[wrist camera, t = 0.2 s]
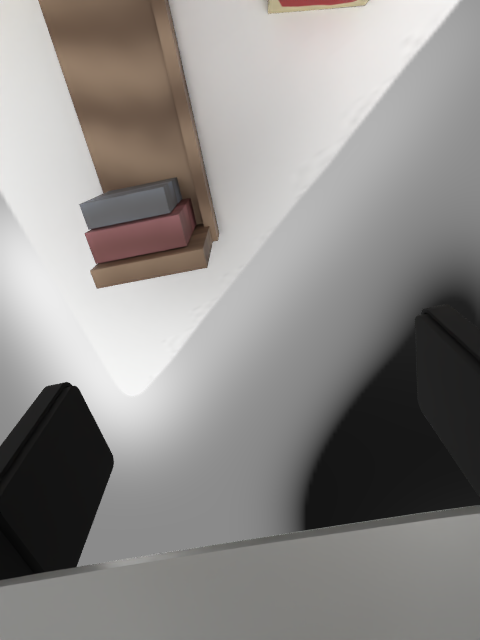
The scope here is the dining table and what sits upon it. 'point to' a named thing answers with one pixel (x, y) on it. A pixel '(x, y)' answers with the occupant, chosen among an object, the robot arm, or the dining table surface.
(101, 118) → the shelf
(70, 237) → the dining table surface
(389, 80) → the dining table surface
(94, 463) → the robot arm
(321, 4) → the milk carton
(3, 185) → the dining table surface
